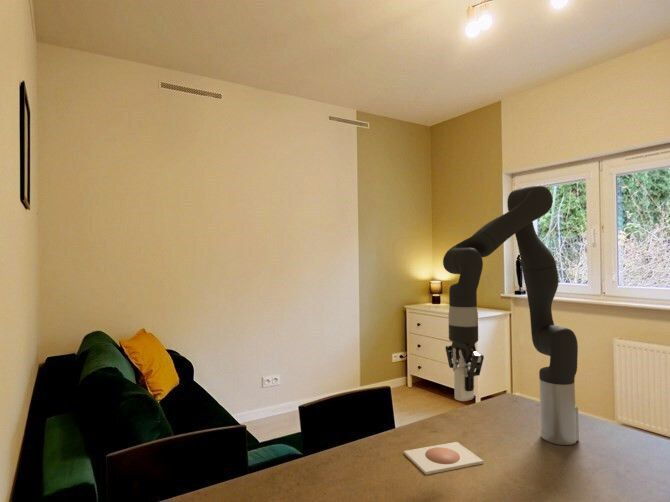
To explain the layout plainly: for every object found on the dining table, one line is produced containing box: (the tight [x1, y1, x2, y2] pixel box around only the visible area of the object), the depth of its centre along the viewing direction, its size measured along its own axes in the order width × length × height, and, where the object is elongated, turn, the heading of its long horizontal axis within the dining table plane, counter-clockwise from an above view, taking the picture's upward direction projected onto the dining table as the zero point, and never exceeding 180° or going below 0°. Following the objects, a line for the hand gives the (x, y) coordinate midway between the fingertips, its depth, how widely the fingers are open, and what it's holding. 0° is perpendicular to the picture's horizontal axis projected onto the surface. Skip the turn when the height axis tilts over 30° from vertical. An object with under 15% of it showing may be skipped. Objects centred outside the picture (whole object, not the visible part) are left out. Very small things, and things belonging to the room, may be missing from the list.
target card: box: [403, 441, 484, 476], centre depth 112 cm, size 17×12×1 cm
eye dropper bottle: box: [453, 358, 475, 402], centre depth 109 cm, size 4×6×12 cm
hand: (464, 388), depth 109 cm, fingers closed on eye dropper bottle, 3 cm apart
